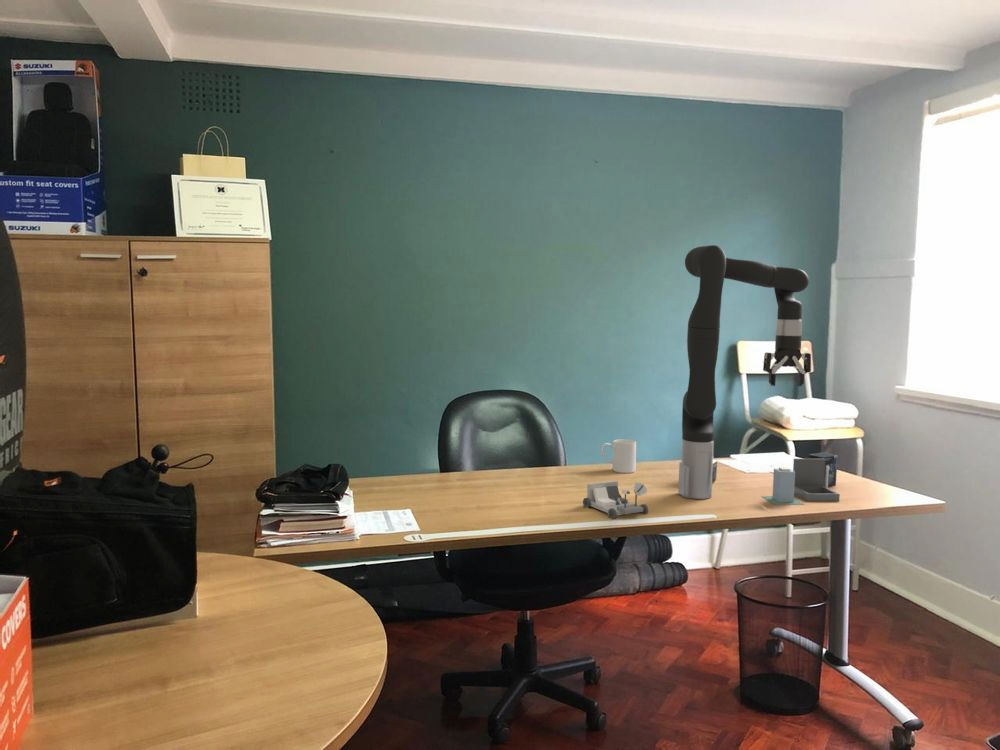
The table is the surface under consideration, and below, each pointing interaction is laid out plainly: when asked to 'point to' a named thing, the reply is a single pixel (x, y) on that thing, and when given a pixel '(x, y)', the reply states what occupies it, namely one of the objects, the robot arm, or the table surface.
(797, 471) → the case
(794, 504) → the pad
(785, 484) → the module
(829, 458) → the box
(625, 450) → the mug
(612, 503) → the toy car
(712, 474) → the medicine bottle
